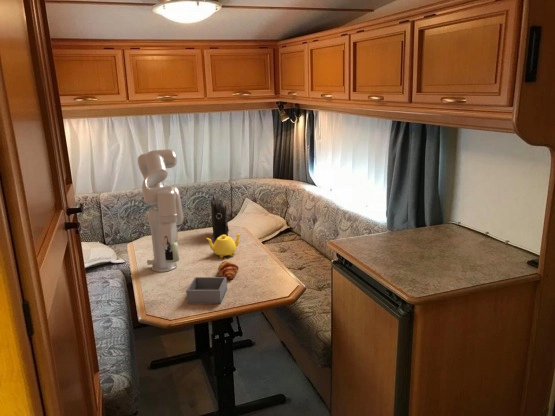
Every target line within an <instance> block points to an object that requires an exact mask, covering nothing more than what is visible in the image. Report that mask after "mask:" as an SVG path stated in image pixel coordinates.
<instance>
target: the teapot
mask: <svg viewBox="0 0 555 416" xmlns="http://www.w3.org/2000/svg"><path fill="white" fill-rule="evenodd" d="M241 234H242V232H239V233H237V235H236V237H235V240H234V238H232V237H231V236H229V235H228V236H226V235H222V236H220V237H218V238H217V239H216V241H214V243H213V241H212V239H211V238H209V237H206V238H205V239H206V240H208V243H209V249H210V250H211V251H212V252H213V253H214V254H215V255H216V256H219V258H220V259H223V258H224V257H226V256H229V257H233V256H234V254H235V252H236V251H237V247H238V246H239V244H240V235H241Z"/></svg>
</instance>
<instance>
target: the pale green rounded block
mask: <svg viewBox="0 0 555 416" xmlns="http://www.w3.org/2000/svg"><path fill="white" fill-rule="evenodd" d="M167 245H170V243H168V244H167ZM168 247H169V248H170V246H168ZM172 251H173V260H166V257H165V262H167V263H174V262H175V263H178V262H179V261H180V257H179V256H180V254H179V244H178V241H177V242H176V241H175V243H174V244H172ZM164 253H165V249H164Z"/></svg>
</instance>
